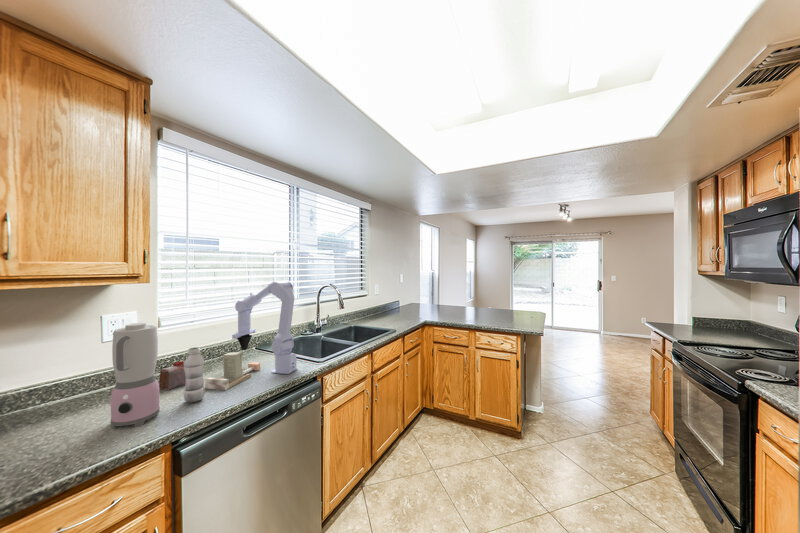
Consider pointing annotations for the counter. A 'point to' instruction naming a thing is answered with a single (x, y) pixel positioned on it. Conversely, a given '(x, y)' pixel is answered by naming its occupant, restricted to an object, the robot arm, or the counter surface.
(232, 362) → the skincare box
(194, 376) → the plastic bottle
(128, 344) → the blender
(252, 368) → the peach and white mallet
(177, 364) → the food item
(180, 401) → the counter surface
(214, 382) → the channel
